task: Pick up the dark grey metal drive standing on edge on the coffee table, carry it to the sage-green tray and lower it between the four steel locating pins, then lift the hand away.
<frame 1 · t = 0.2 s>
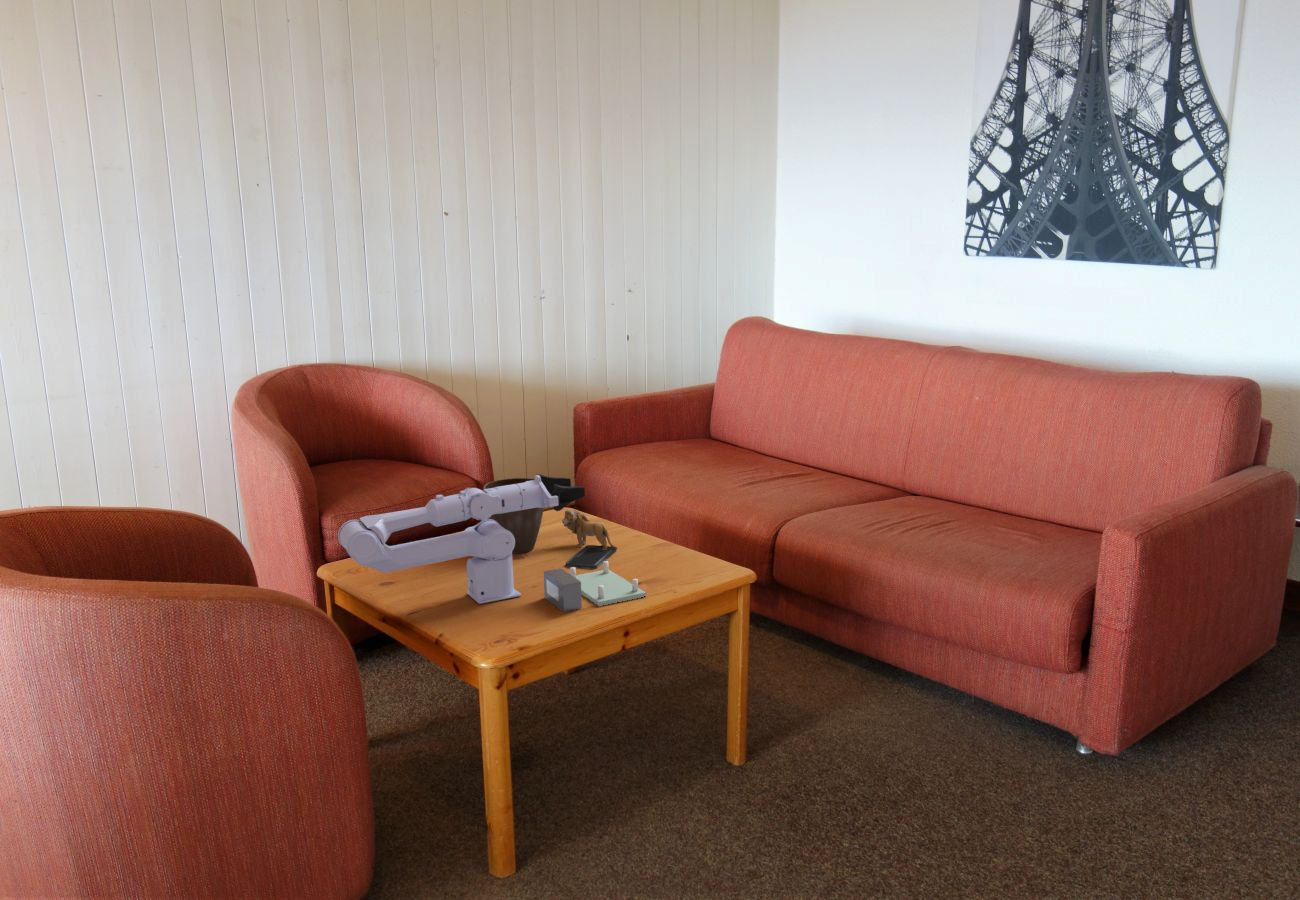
hand: (577, 487, 241), 21 cm above the table, tool horizontal, fingers open, 7 cm apart
pin tray: (603, 589, 239), on the table
lion figurine: (588, 548, 269), on the table
drive: (562, 603, 231), on the table
phone: (591, 560, 260), on the table
plant pot: (518, 549, 269), on the table
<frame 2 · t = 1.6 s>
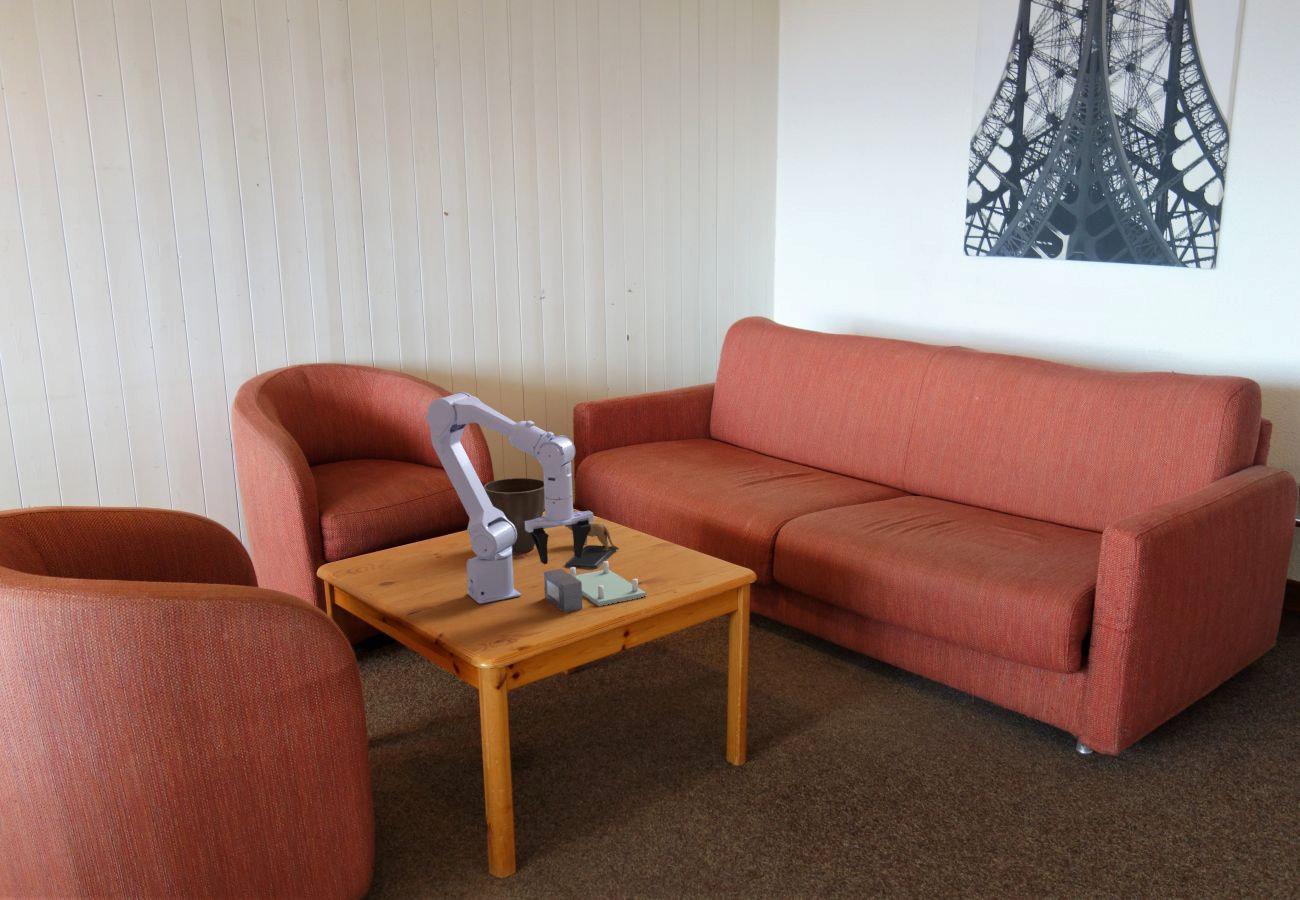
hand: (561, 559, 229), 9 cm above the table, tool pointing down, fingers open, 7 cm apart
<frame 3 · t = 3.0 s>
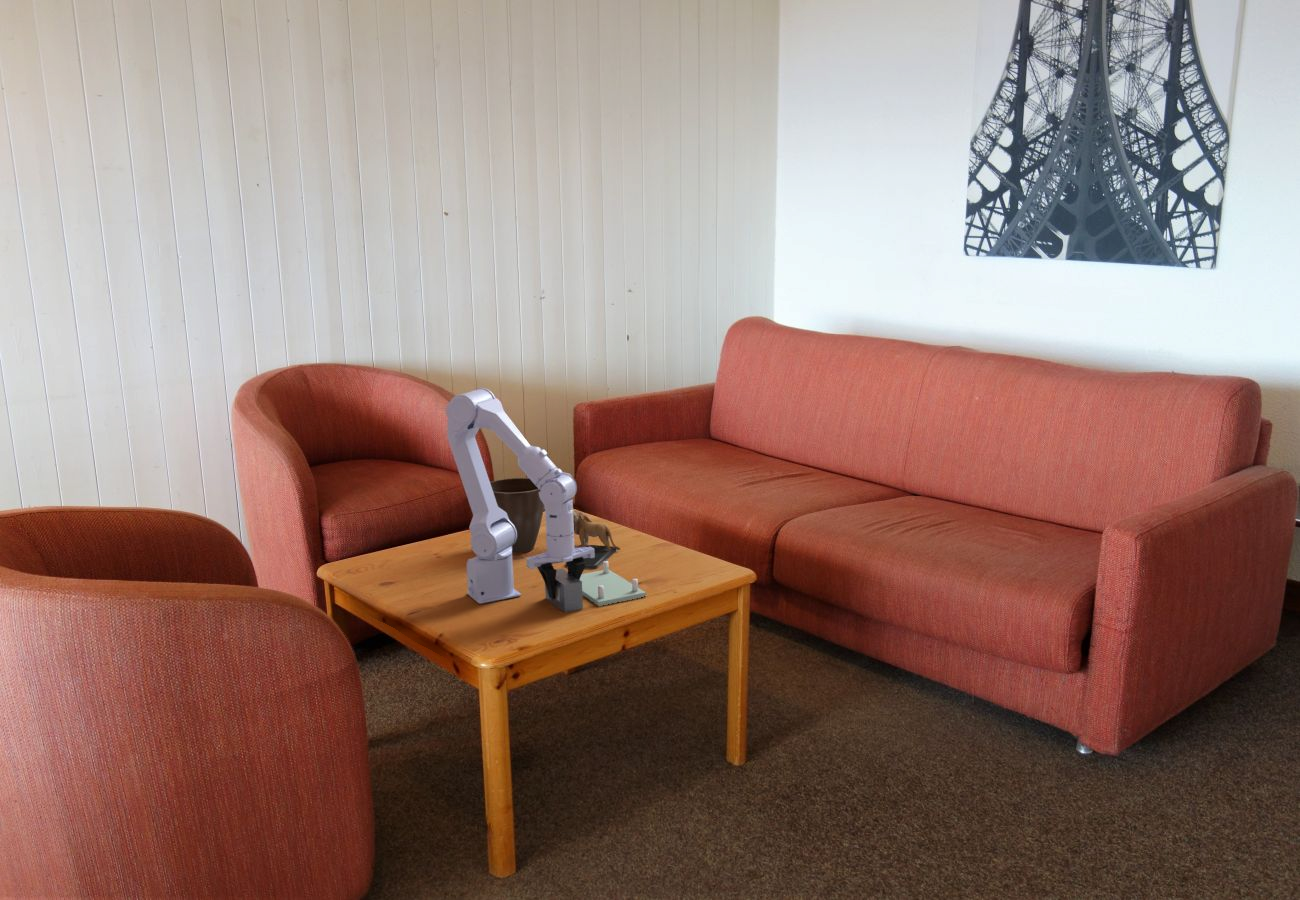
hand: (562, 595, 231), 2 cm above the table, tool pointing down, fingers closed on drive, 4 cm apart
drive: (564, 603, 231), on the table, touching gripper
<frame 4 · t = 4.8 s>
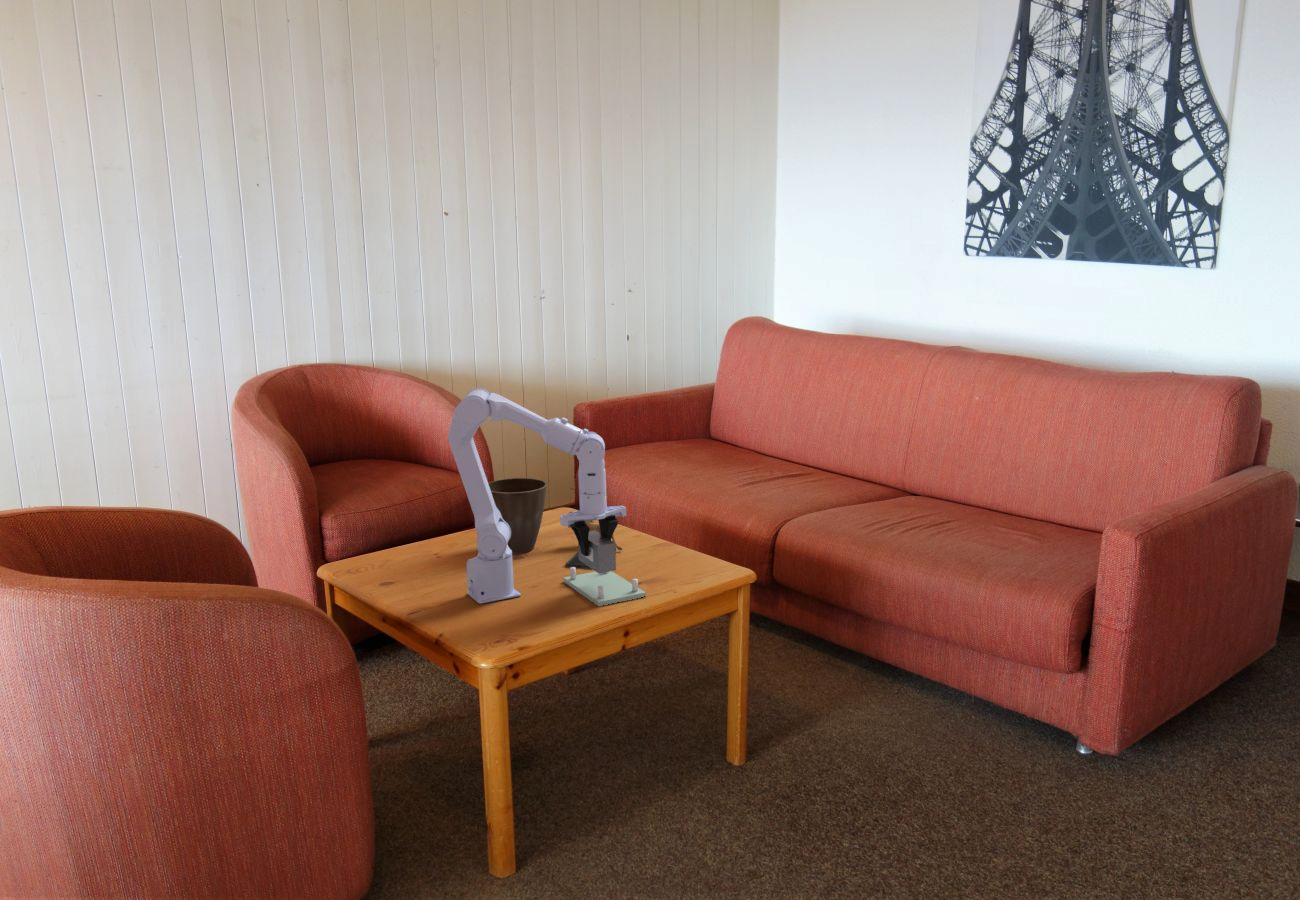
hand: (595, 553, 236), 9 cm above the table, tool pointing down, fingers closed on drive, 4 cm apart
drive: (597, 564, 235), point 6 cm above the table, touching gripper
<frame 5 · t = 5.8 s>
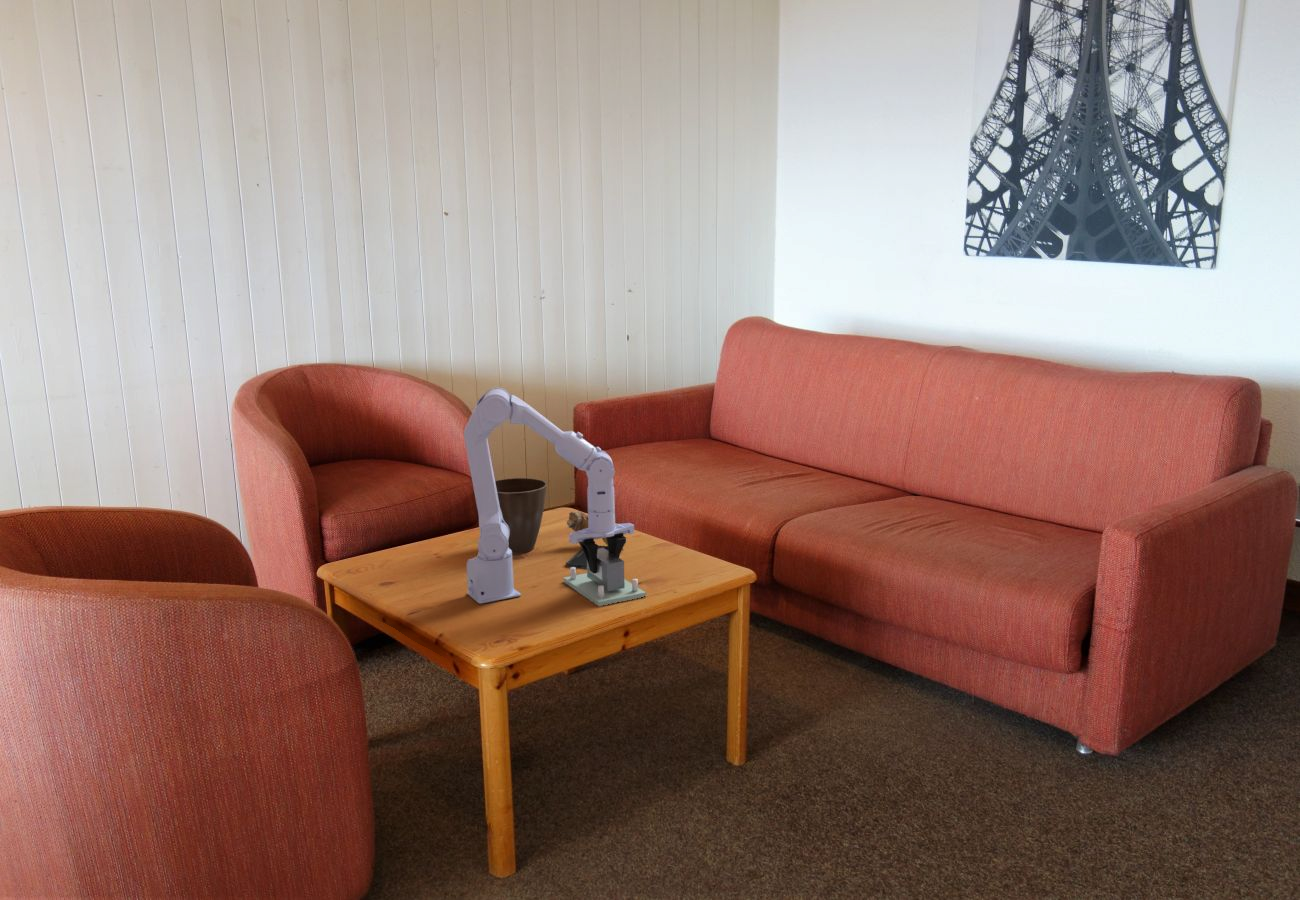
hand: (603, 570, 238), 4 cm above the table, tool pointing down, fingers closed on drive, 4 cm apart
drive: (605, 582, 238), point 2 cm above the table, touching gripper
when the fingers open (4 cm above the table, at t = 6.7 s): drive stays where it is, resting on pin tray.
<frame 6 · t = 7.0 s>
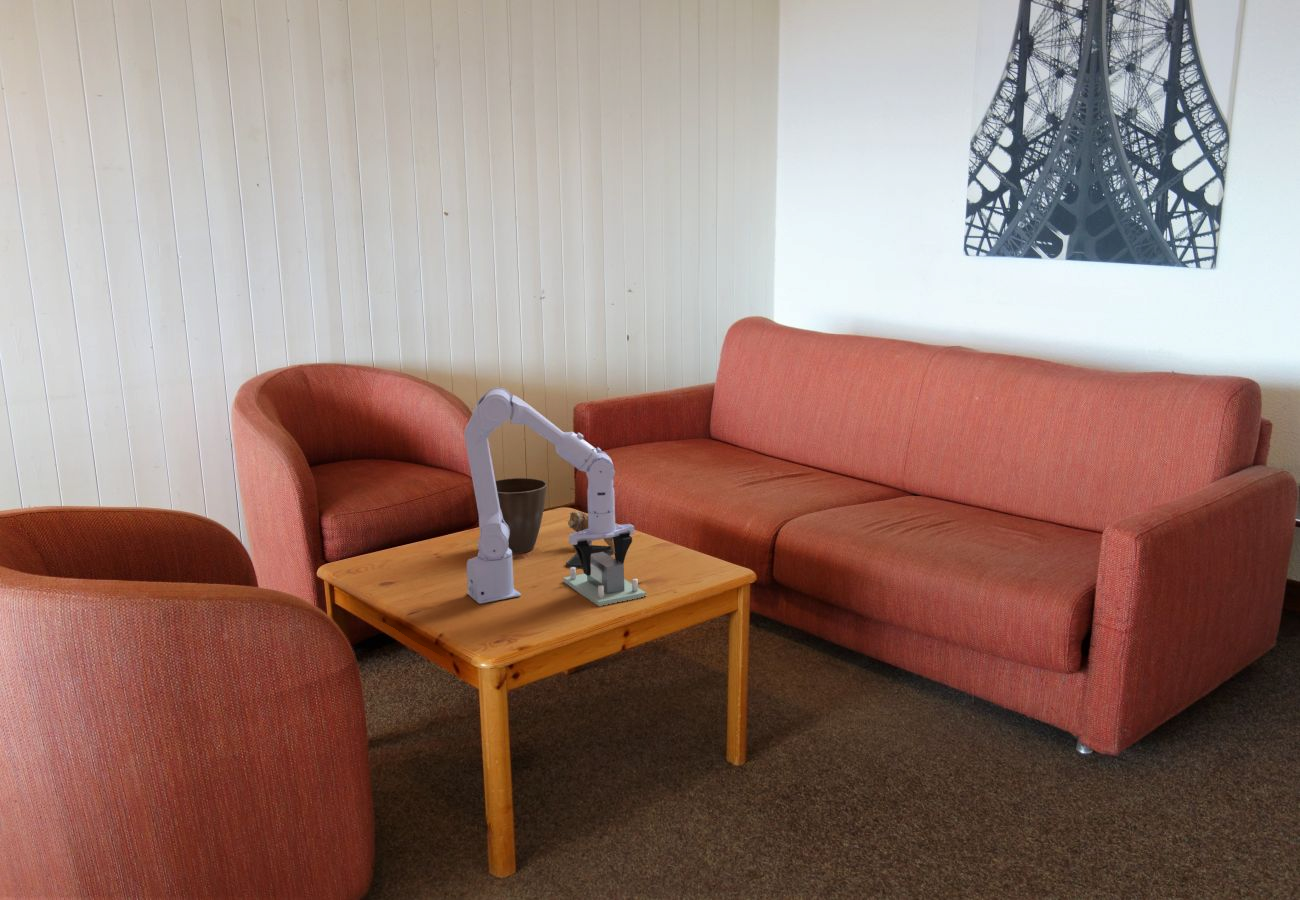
hand: (603, 571, 238), 4 cm above the table, tool pointing down, fingers open, 7 cm apart
drive: (605, 585, 238), point 1 cm above the table, touching pin tray
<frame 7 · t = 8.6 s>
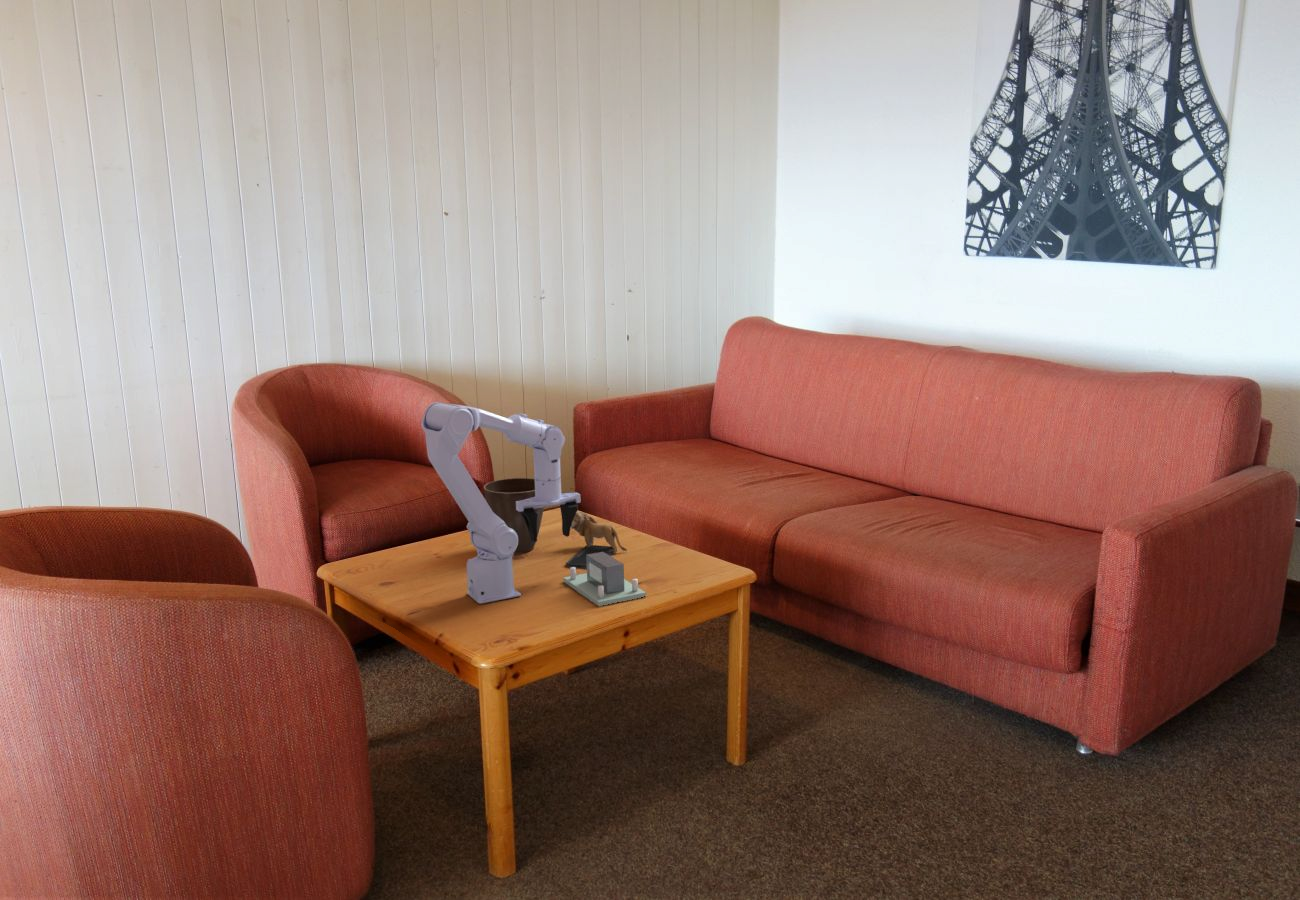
hand: (550, 538, 245), 9 cm above the table, tool pointing down, fingers open, 7 cm apart
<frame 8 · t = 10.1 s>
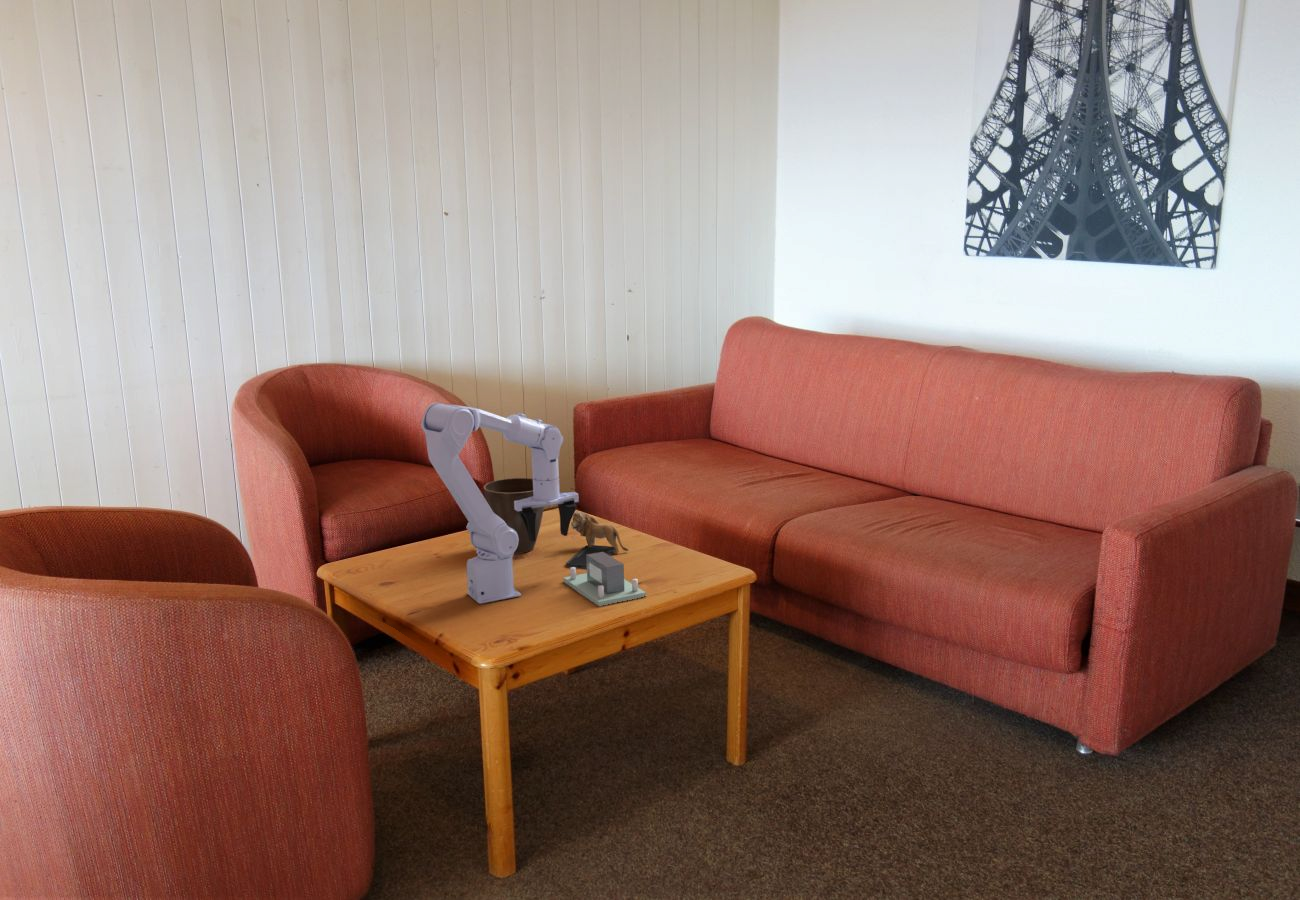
hand: (548, 537, 245), 9 cm above the table, tool pointing down, fingers open, 7 cm apart
at the end: drive 0.9 cm off-centre on the pin tray, point 1.0 cm above the pin tray's base; drive tilted 0°; the gripper is holding nothing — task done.
